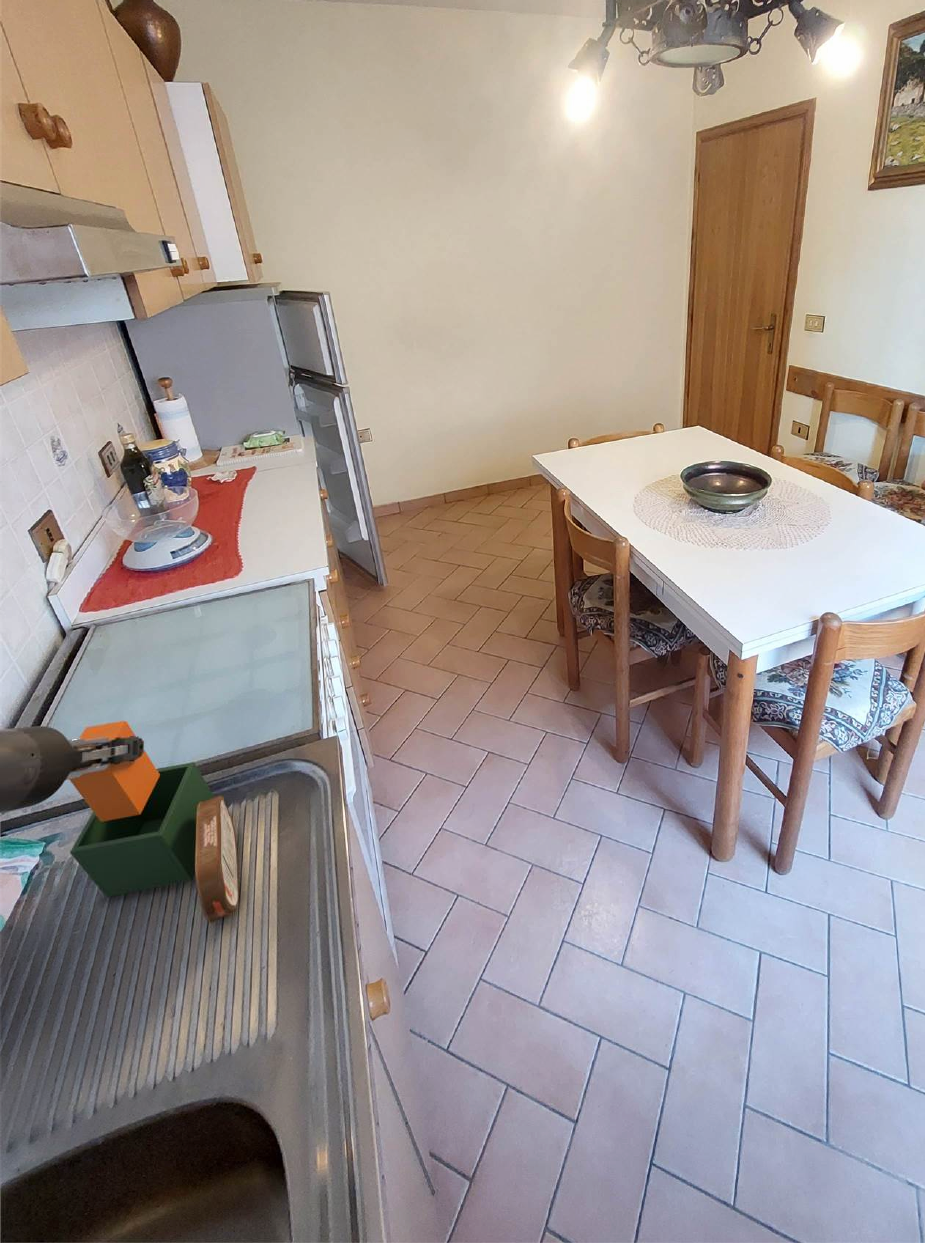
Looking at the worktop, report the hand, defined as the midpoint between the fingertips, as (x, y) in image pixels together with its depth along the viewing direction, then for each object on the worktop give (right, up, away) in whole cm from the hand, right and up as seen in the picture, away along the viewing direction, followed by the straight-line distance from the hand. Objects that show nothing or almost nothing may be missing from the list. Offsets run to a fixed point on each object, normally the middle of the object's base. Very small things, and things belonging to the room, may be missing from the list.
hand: (116, 751), depth 71 cm
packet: (+1, -6, +1) cm, 6 cm away
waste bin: (+2, -16, +7) cm, 17 cm away
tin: (+12, -17, +3) cm, 21 cm away
